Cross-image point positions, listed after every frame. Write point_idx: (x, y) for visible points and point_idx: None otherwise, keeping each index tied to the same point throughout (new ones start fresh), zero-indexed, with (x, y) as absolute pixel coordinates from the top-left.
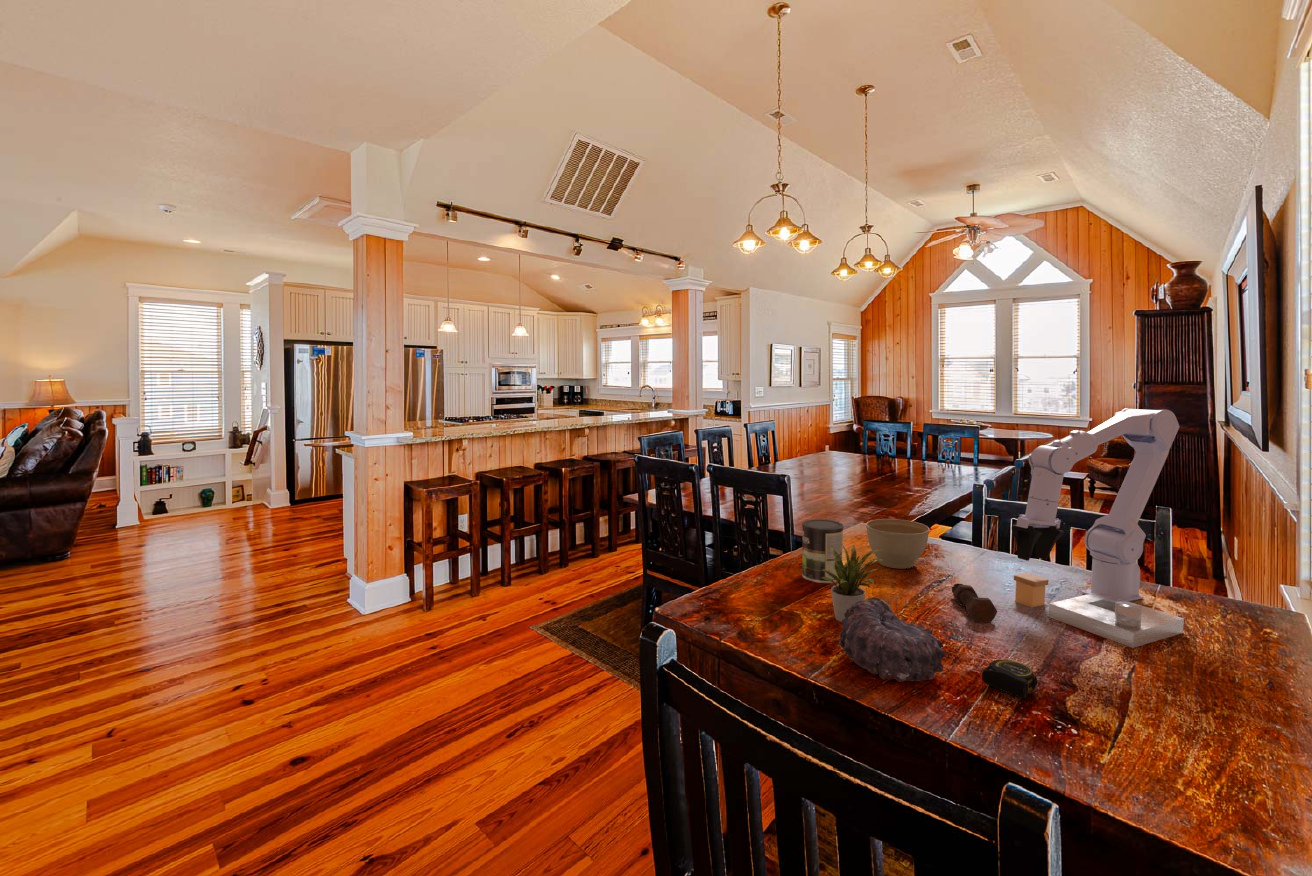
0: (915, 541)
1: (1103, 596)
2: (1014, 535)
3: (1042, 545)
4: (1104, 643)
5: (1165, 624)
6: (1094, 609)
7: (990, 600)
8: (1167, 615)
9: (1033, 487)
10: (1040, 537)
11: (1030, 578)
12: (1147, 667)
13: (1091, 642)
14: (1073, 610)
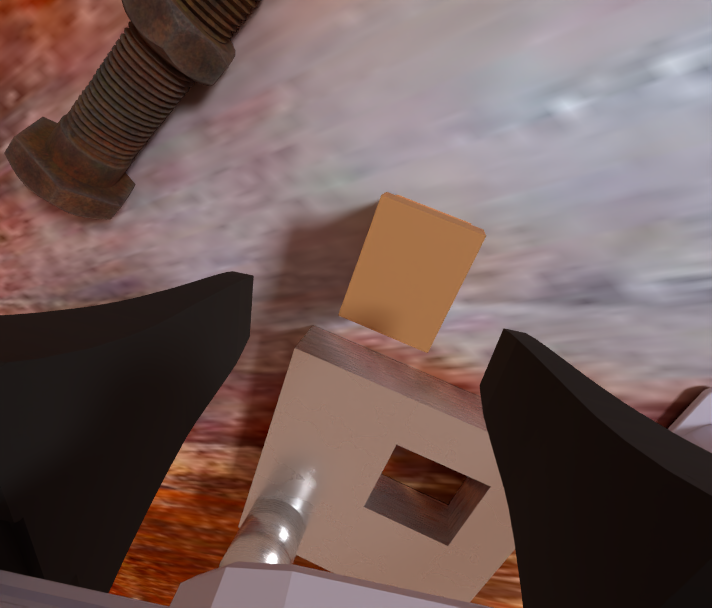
0: None
1: None
2: (31, 314)
3: (534, 432)
4: (236, 449)
5: None
6: (346, 462)
7: (51, 203)
8: None
9: None
10: (583, 475)
11: (383, 281)
12: (183, 504)
13: (218, 427)
14: (286, 414)
